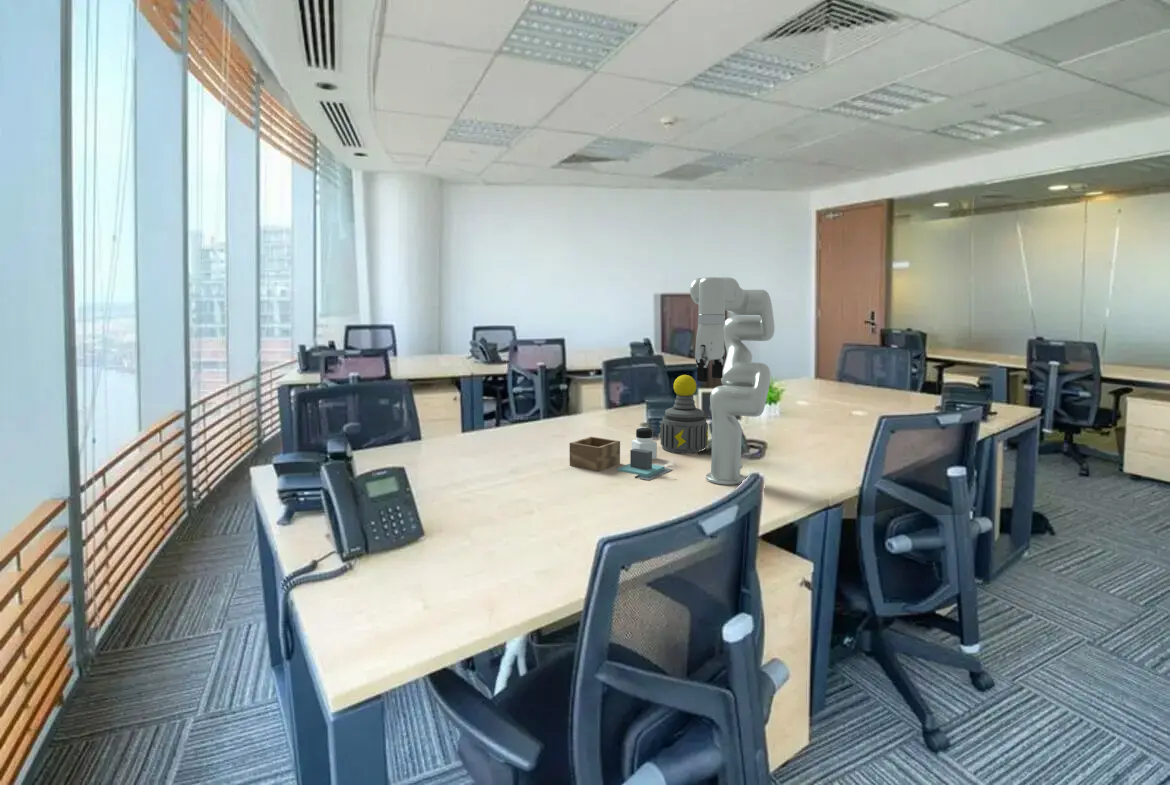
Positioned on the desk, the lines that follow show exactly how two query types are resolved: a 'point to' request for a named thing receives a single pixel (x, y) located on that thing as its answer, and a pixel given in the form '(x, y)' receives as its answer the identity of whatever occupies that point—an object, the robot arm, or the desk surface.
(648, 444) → the medicine bottle
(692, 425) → the decorative lamp
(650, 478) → the mat
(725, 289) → the robot arm
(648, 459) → the lid
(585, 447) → the box
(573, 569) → the desk surface
